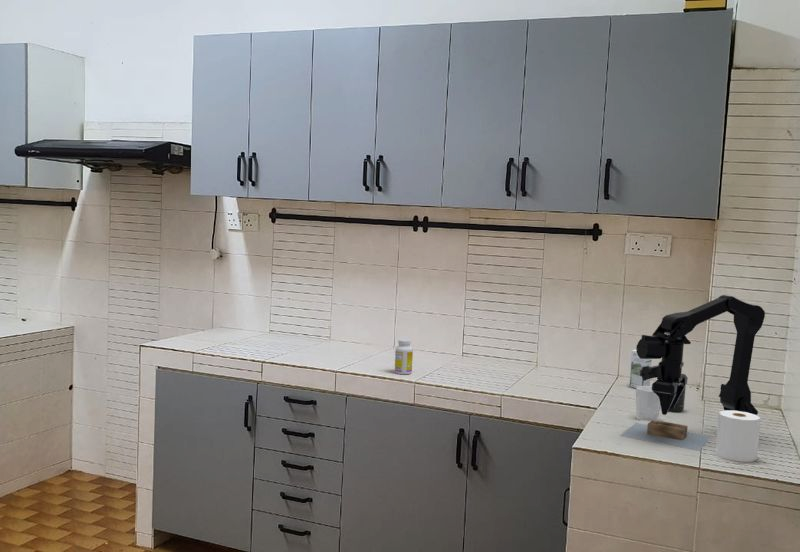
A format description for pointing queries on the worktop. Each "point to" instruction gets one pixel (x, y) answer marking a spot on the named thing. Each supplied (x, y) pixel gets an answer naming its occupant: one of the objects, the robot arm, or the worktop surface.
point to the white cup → (647, 404)
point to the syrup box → (638, 370)
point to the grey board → (688, 442)
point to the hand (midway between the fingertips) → (667, 411)
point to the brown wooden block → (667, 429)
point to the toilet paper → (737, 435)
